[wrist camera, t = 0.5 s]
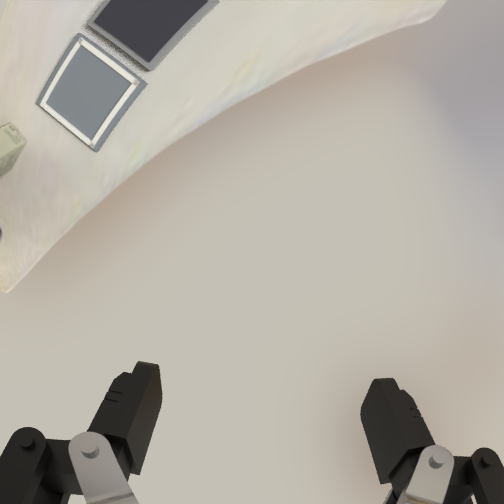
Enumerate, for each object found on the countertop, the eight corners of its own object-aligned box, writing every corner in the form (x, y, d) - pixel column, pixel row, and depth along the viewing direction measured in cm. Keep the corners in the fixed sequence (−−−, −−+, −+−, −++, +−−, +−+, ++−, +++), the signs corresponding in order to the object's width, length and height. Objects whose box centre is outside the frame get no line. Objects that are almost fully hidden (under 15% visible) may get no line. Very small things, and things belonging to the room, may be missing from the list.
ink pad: (91, 24, 23) (85, 23, 22) (151, -44, 19) (148, -47, 18) (153, 70, 27) (149, 71, 26) (219, 2, 23) (218, 0, 22)
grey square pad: (39, 102, 27) (35, 103, 27) (80, 33, 23) (77, 33, 23) (98, 150, 32) (95, 153, 31) (147, 83, 28) (145, 84, 27)
